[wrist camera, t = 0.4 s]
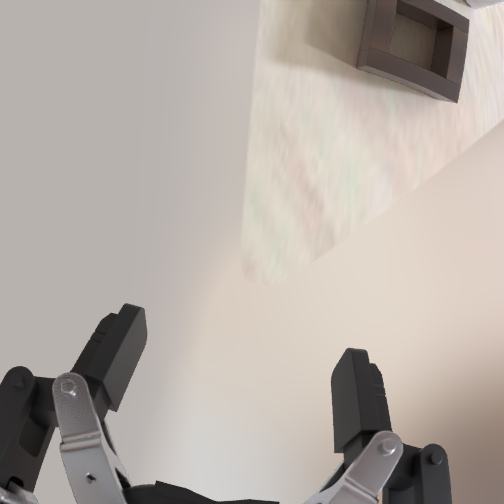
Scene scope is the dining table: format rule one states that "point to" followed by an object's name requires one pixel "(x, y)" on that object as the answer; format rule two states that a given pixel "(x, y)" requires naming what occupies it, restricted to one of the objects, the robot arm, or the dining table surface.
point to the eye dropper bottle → (483, 3)
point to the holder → (388, 66)
